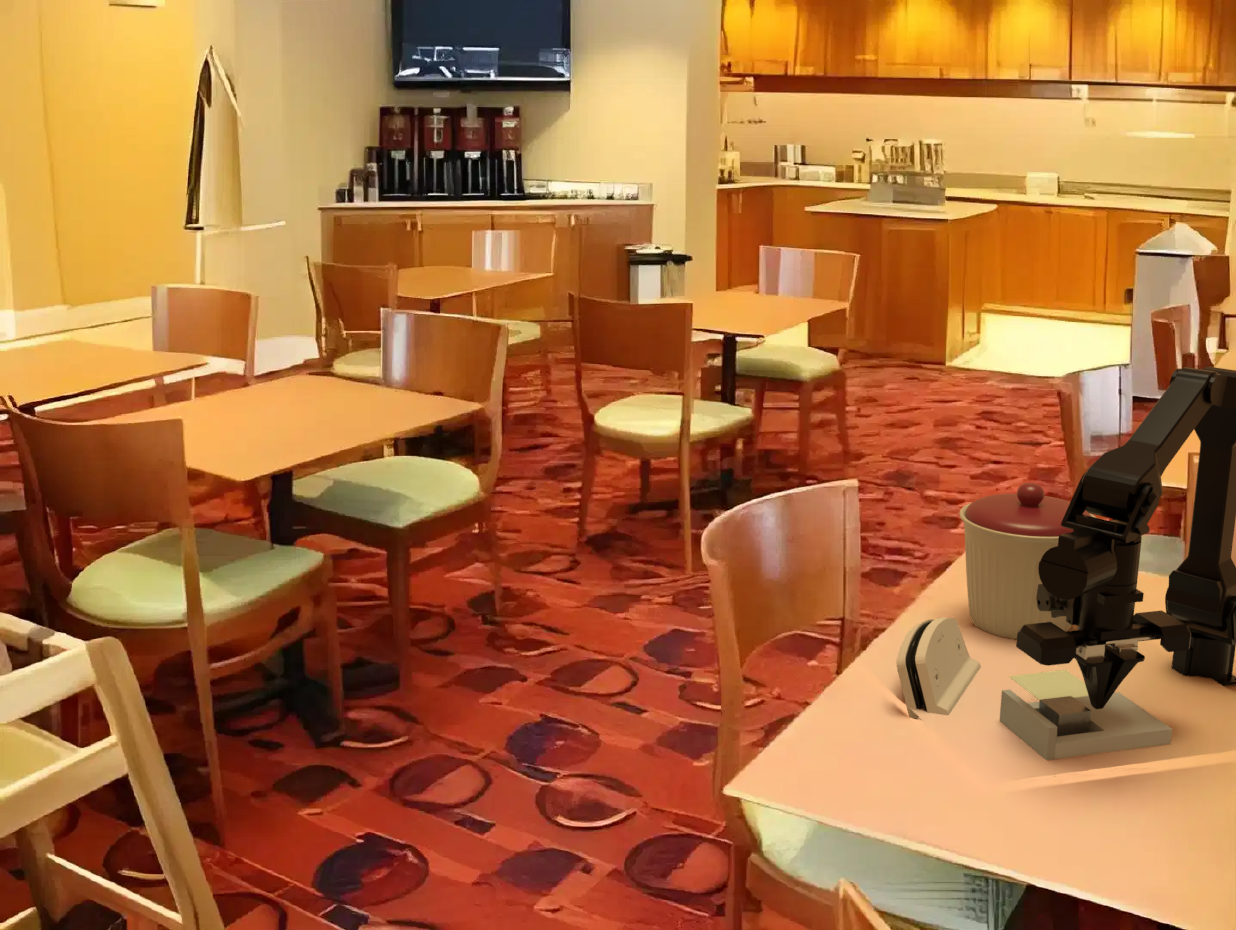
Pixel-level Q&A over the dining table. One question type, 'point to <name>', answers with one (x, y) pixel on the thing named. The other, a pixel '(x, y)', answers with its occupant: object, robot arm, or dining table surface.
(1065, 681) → the pad
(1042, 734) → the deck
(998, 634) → the canister
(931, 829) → the dining table surface
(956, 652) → the beige half-round holder
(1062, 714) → the block
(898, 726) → the dining table surface
